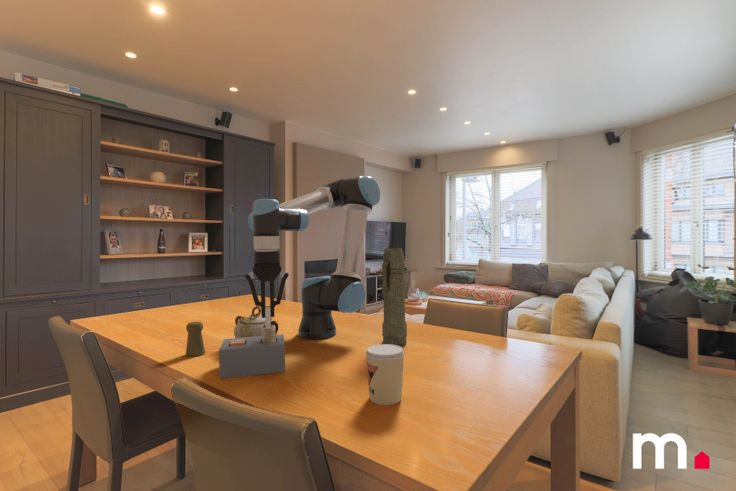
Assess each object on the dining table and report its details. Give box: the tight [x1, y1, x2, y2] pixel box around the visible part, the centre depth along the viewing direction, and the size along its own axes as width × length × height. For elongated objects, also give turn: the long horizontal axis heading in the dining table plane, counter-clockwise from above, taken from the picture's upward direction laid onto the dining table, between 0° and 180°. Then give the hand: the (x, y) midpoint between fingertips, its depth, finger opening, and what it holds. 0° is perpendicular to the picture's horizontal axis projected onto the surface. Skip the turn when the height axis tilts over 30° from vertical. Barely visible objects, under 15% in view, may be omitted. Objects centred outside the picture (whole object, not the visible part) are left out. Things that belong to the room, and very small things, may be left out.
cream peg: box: [262, 327, 276, 343], centre depth 114 cm, size 4×4×8 cm
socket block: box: [218, 334, 286, 380], centre depth 113 cm, size 18×12×8 cm, turn 104°
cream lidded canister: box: [365, 343, 405, 406], centre depth 91 cm, size 9×9×12 cm
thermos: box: [381, 246, 408, 347], centre depth 138 cm, size 9×12×35 cm
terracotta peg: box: [230, 339, 245, 346], centre depth 112 cm, size 4×4×8 cm
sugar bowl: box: [233, 305, 279, 338], centre depth 133 cm, size 20×15×15 cm
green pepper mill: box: [185, 321, 206, 358], centre depth 128 cm, size 6×6×11 cm
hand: (268, 328), depth 114 cm, fingers closed
